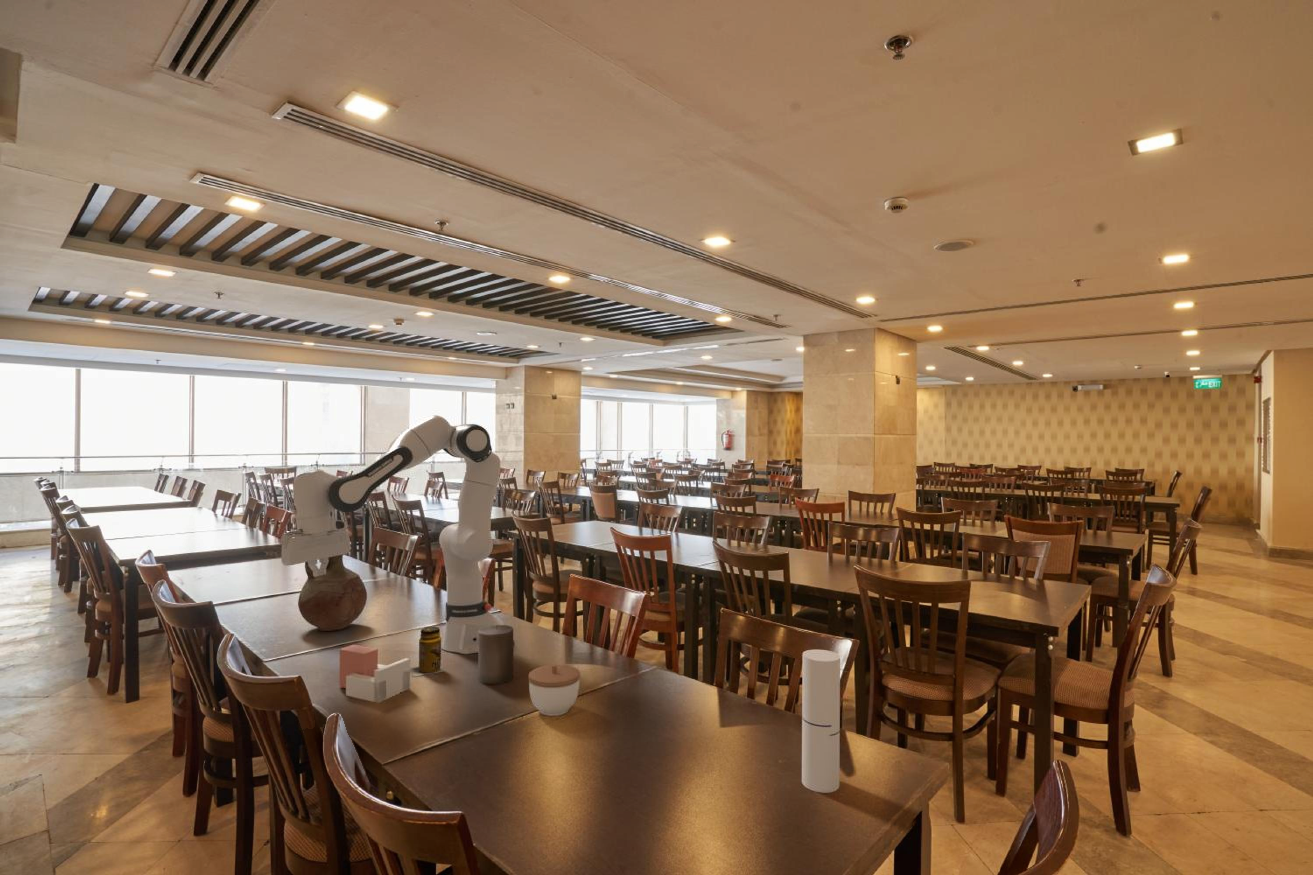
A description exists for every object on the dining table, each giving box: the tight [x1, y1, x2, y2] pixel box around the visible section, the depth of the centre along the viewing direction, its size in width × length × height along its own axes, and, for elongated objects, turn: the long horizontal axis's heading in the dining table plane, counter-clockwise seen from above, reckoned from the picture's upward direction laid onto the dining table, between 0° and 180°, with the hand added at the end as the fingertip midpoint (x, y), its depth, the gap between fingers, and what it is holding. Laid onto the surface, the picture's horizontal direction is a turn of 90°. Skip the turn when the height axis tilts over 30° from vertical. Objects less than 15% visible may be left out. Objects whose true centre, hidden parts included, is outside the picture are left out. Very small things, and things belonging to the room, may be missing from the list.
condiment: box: [410, 626, 445, 677], centre depth 191 cm, size 7×8×12 cm
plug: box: [338, 644, 379, 689], centre depth 177 cm, size 9×4×10 cm, turn 65°
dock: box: [345, 657, 411, 704], centre depth 174 cm, size 12×10×8 cm
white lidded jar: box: [528, 664, 581, 717], centre depth 163 cm, size 13×13×11 cm
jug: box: [297, 554, 368, 632], centre depth 232 cm, size 22×22×30 cm
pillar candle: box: [477, 624, 514, 685], centre depth 185 cm, size 10×10×15 cm
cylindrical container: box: [801, 649, 841, 794], centre depth 129 cm, size 7×7×25 cm
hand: (319, 575), depth 188 cm, fingers closed
